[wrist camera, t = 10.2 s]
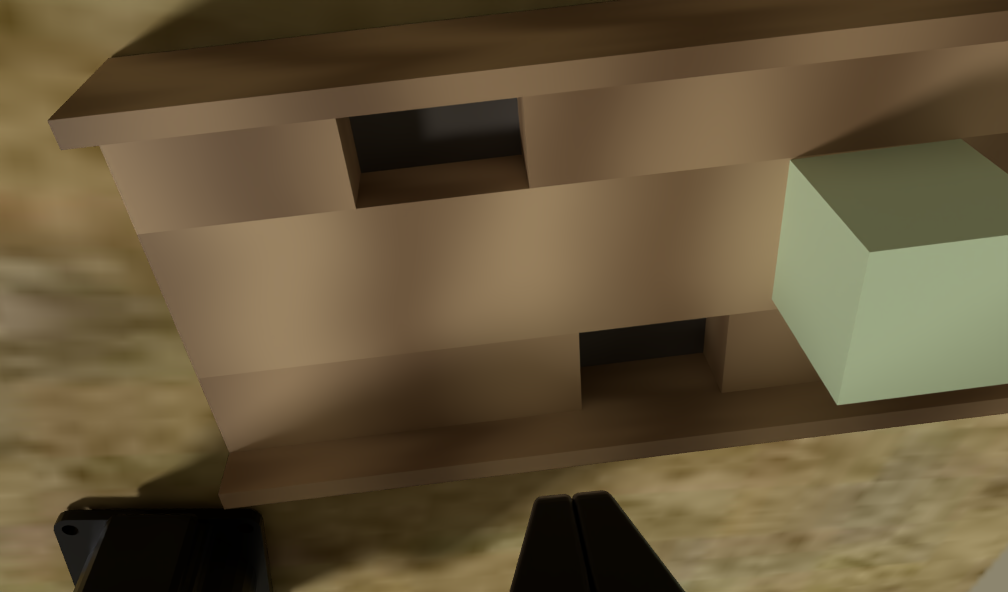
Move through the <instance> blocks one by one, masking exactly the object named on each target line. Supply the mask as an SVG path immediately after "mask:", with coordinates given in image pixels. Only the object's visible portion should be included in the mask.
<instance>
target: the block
mask: <svg viewBox="0 0 1008 592" xmlns="http://www.w3.org/2000/svg"><path fill="white" fill-rule="evenodd" d="M772 300H773V302H774V304H775V305H776V307H777V308H778V310H779V312H780V313H781V315H782V317H783V318H784V320H785V321H786V323H787V325H788V326H789V328H790V330H791V331H792V333H793V334H794V336H795V338H796V339H797V341H798V343H799V344H800V346H801V347H802V349H803V351H804V352H805V354H806V356H807V357H808V359H809V360H810V362H811V364H812V365H813V367H814V368H815V370H816V372H817V373H818V375H819V377H820V378H821V380H822V381H823V383H824V385H825V386H826V388H827V390H828V391H829V393H830V394H831V396H832V398H833V399H834V401H835V403H836V404H837V405H843V404H851V403H859V402H867V401H875V400H882V399H890V398H898V397H906V396H914V395H922V394H930V393H937V392H945V391H953V390H961V389H969V388H977V387H984V386H992V385H1000V384H1008V174H1007V173H1006V172H1004V171H1003V170H1002V169H1000V168H999V167H998V166H996V165H995V164H994V163H992V162H991V161H990V160H988V159H987V158H986V157H985V156H983V155H982V154H981V153H979V152H978V151H977V150H975V149H974V148H973V147H971V146H970V145H969V144H967V143H966V142H965V141H963V140H962V139H954V140H946V141H938V142H930V143H922V144H914V145H906V146H898V147H890V148H881V149H873V150H865V151H857V152H849V153H841V154H833V155H825V156H817V157H809V158H801V159H793V160H790V164H789V171H788V179H787V186H786V194H785V202H784V209H783V217H782V225H781V232H780V240H779V247H778V255H777V263H776V270H775V278H774V286H773V293H772Z"/></svg>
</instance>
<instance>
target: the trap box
mask: <svg viewBox="0 0 1008 592" xmlns="http://www.w3.org/2000/svg"><path fill="white" fill-rule="evenodd" d="M48 123H49V125H50V127H51V130H52V132H53V134H54V136H55V138H56V141H57V143H58V145H59V147H60V149H61V150H66V149H74V148H83V147H92V146H100V148H101V150H102V153H103V155H104V158H105V160H106V162H107V165H108V167H109V169H110V172H111V174H112V177H113V179H114V181H115V184H116V186H117V188H118V191H119V193H120V195H121V198H122V200H123V203H124V205H125V207H126V210H127V212H128V214H129V217H130V219H131V221H132V224H133V226H134V229H135V231H136V233H137V236H138V238H139V240H140V243H141V245H142V247H143V250H144V252H145V255H146V257H147V259H148V262H149V264H150V266H151V269H152V271H153V273H154V276H155V278H156V281H157V283H158V285H159V288H160V290H161V292H162V295H163V297H164V299H165V302H166V304H167V307H168V309H169V311H170V314H171V316H172V318H173V321H174V323H175V326H176V328H177V330H178V333H179V335H180V337H181V340H182V342H183V344H184V347H185V349H186V352H187V354H188V356H189V359H190V361H191V363H192V366H193V368H194V370H195V373H196V375H197V378H198V380H199V382H200V385H201V387H202V389H203V392H204V394H205V396H206V399H207V401H208V404H209V406H210V408H211V411H212V413H213V415H214V418H215V420H216V422H217V425H218V427H219V430H220V432H221V434H222V437H223V439H224V441H225V444H226V446H227V448H228V451H229V456H228V459H227V463H226V467H225V470H224V474H223V478H222V481H221V485H220V489H219V492H218V496H219V498H220V500H221V503H222V505H223V507H224V509H231V508H239V507H247V506H255V505H263V504H272V503H280V502H288V501H296V500H304V499H312V498H320V497H329V496H337V495H345V494H353V493H361V492H369V491H378V490H386V489H394V488H402V487H410V486H418V485H426V484H435V483H443V482H451V481H459V480H467V479H475V478H484V477H492V476H500V475H508V474H516V473H524V472H532V471H541V470H549V469H557V468H565V467H573V466H581V465H589V464H598V463H606V462H614V461H622V460H630V459H638V458H647V457H655V456H663V455H671V454H679V453H687V452H695V451H704V450H712V449H720V448H728V447H736V446H744V445H752V444H761V443H769V442H777V441H785V440H793V439H801V438H810V437H818V436H826V435H834V434H842V433H850V432H858V431H867V430H875V429H883V428H891V427H899V426H907V425H916V424H924V423H932V422H940V421H948V420H956V419H964V418H973V417H981V416H989V415H997V414H1005V413H1008V384H1000V385H992V386H984V387H977V388H969V389H961V390H953V391H945V392H937V393H930V394H922V395H914V396H906V397H898V398H890V399H882V400H875V401H867V402H859V403H851V404H843V405H837V404H836V403H835V401H834V399H833V398H832V396H831V394H830V393H829V391H828V390H827V388H826V386H825V385H824V383H823V381H822V380H821V378H820V377H819V375H818V373H817V372H816V370H815V368H814V367H813V365H812V364H811V362H810V360H809V359H808V357H807V356H806V354H805V352H804V351H803V349H802V347H801V346H800V344H799V343H798V341H797V339H796V338H795V336H794V334H793V333H792V331H791V330H790V328H789V326H788V325H787V323H786V321H785V320H784V318H783V317H782V315H781V313H780V312H779V310H778V308H777V307H776V305H775V304H774V302H773V300H772V293H773V286H774V278H775V270H776V263H777V255H778V247H779V240H780V232H781V225H782V217H783V209H784V202H785V194H786V186H787V179H788V171H789V164H790V160H793V159H801V158H809V157H817V156H825V155H833V154H841V153H849V152H857V151H865V150H873V149H881V148H890V147H898V146H906V145H914V144H922V143H930V142H938V141H946V140H954V139H962V140H963V141H965V142H966V143H967V144H969V145H970V146H971V147H973V148H974V149H975V150H977V151H978V152H979V153H981V154H982V155H983V156H985V157H986V158H987V159H988V160H990V161H991V162H992V163H994V164H995V165H996V166H998V167H999V168H1000V169H1002V170H1003V171H1004V172H1006V173H1007V174H1008V0H617V1H608V2H599V3H591V4H582V5H573V6H564V7H555V8H546V9H538V10H529V11H520V12H511V13H502V14H494V15H485V16H476V17H467V18H458V19H449V20H441V21H432V22H423V23H414V24H405V25H397V26H388V27H379V28H370V29H361V30H352V31H344V32H335V33H326V34H317V35H308V36H299V37H291V38H282V39H273V40H264V41H255V42H247V43H238V44H229V45H220V46H211V47H202V48H194V49H185V50H176V51H167V52H158V53H150V54H141V55H132V56H123V57H114V58H108V59H107V60H106V61H105V62H104V63H103V64H102V66H101V67H100V68H99V69H98V70H97V71H96V72H95V73H94V74H93V75H92V76H91V77H90V78H89V79H88V80H87V81H86V82H85V83H84V84H83V85H82V86H81V87H80V88H79V89H78V90H77V91H76V92H75V93H74V94H73V95H72V96H71V97H70V98H69V99H68V100H67V101H66V102H65V103H64V104H63V105H62V106H61V107H60V108H59V109H58V110H57V111H56V112H55V113H54V114H53V115H52V116H51V117H50V119H49V120H48Z"/></svg>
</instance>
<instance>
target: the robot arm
mask: <svg viewBox="0 0 1008 592" xmlns="http://www.w3.org/2000/svg"><path fill="white" fill-rule="evenodd" d="M54 532H55V535H56V537H57V540H58V543H59V545H60V548H61V551H62V553H63V556H64V559H65V561H66V564H67V567H68V569H69V572H70V575H71V577H72V580H73V583H74V585H75V589H74V591H73V592H273V589H272V582H271V574H270V567H269V560H268V552H267V545H266V538H265V530H264V523H263V518H262V515H261V514H260V513H258V512H257V511H255V510H252V509H161V510H69V511H64V512H62V513H61V514H60V515H59V516H58V519H57V521H56V523H55V525H54ZM510 592H685V591H684V590H683V588H682V587H681V586H680V584H679V583H678V582H677V581H676V579H675V578H674V577H673V575H672V574H671V573H670V571H669V570H668V569H667V567H666V566H665V565H664V563H663V562H662V561H661V559H660V558H659V557H658V556H657V554H656V553H655V552H654V550H653V549H652V548H651V546H650V545H649V544H648V542H647V541H646V540H645V538H644V537H643V536H642V535H641V533H640V532H639V531H638V529H637V528H636V527H635V525H634V524H633V523H632V521H631V520H630V519H629V517H628V516H627V515H626V513H625V512H624V511H623V510H622V508H621V507H620V506H619V504H618V503H617V502H616V500H615V499H614V498H613V497H612V495H611V494H609V493H608V492H606V491H592V492H581V493H576V494H575V495H574V496H573V497H572V498H571V497H570V496H569V495H566V494H560V495H550V496H541V497H538V498H537V499H536V500H535V502H534V504H533V508H532V511H531V515H530V519H529V522H528V526H527V530H526V533H525V537H524V541H523V544H522V548H521V552H520V555H519V559H518V563H517V566H516V570H515V574H514V577H513V581H512V585H511V588H510Z"/></svg>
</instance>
